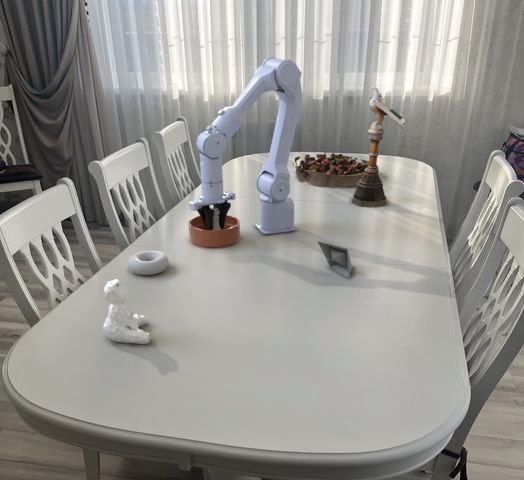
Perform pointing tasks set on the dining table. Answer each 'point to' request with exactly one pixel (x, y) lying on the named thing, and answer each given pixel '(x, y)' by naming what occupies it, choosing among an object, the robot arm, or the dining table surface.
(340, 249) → the grey rectangular frame
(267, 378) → the dining table surface
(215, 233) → the bowl
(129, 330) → the sitting furry creature
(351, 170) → the food dish
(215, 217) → the rook chess piece
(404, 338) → the dining table surface
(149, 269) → the donut
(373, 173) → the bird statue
